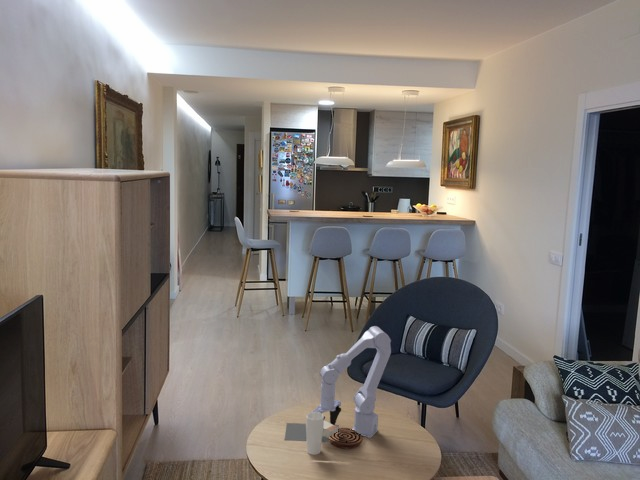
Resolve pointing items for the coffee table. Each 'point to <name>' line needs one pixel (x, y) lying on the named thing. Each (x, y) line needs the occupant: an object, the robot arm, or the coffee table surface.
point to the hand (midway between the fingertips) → (326, 427)
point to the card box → (329, 429)
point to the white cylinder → (314, 432)
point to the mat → (299, 432)
